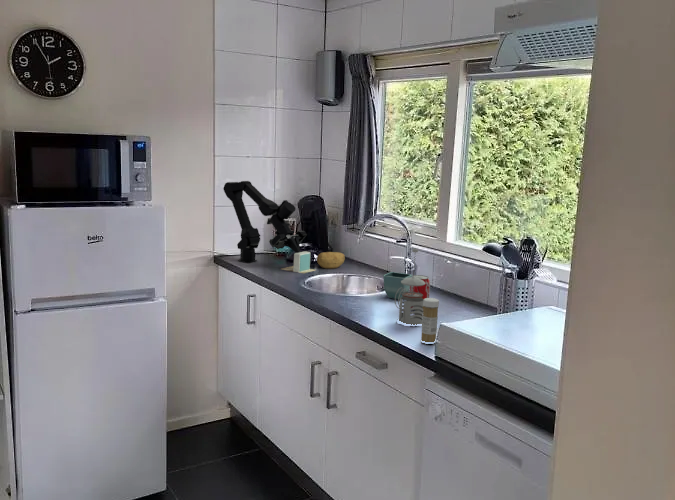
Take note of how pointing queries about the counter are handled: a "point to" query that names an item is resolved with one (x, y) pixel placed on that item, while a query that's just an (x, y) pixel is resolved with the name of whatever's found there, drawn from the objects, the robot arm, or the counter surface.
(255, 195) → the robot arm
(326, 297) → the counter surface
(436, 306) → the sprinkles bottle
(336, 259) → the potato
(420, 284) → the french press
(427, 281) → the soda can
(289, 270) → the board
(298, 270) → the tile
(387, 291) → the flower pot
